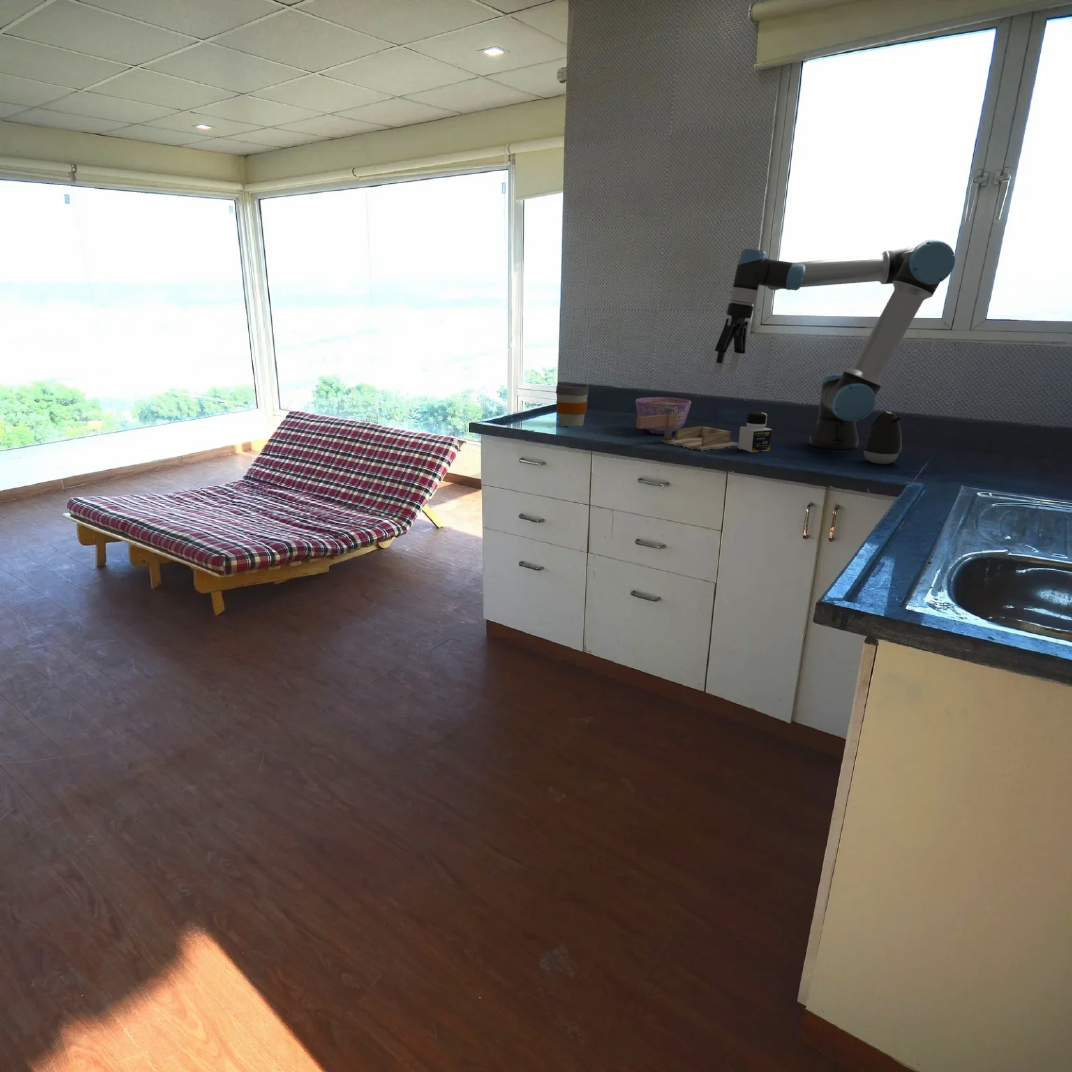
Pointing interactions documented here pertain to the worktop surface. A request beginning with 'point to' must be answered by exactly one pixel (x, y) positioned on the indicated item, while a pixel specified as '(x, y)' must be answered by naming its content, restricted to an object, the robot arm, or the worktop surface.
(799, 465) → the worktop surface
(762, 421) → the medicine bottle
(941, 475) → the worktop surface
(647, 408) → the bowl of food
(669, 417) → the hammer
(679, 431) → the cradle
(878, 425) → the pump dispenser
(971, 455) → the worktop surface
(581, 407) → the reusable coffee cup
